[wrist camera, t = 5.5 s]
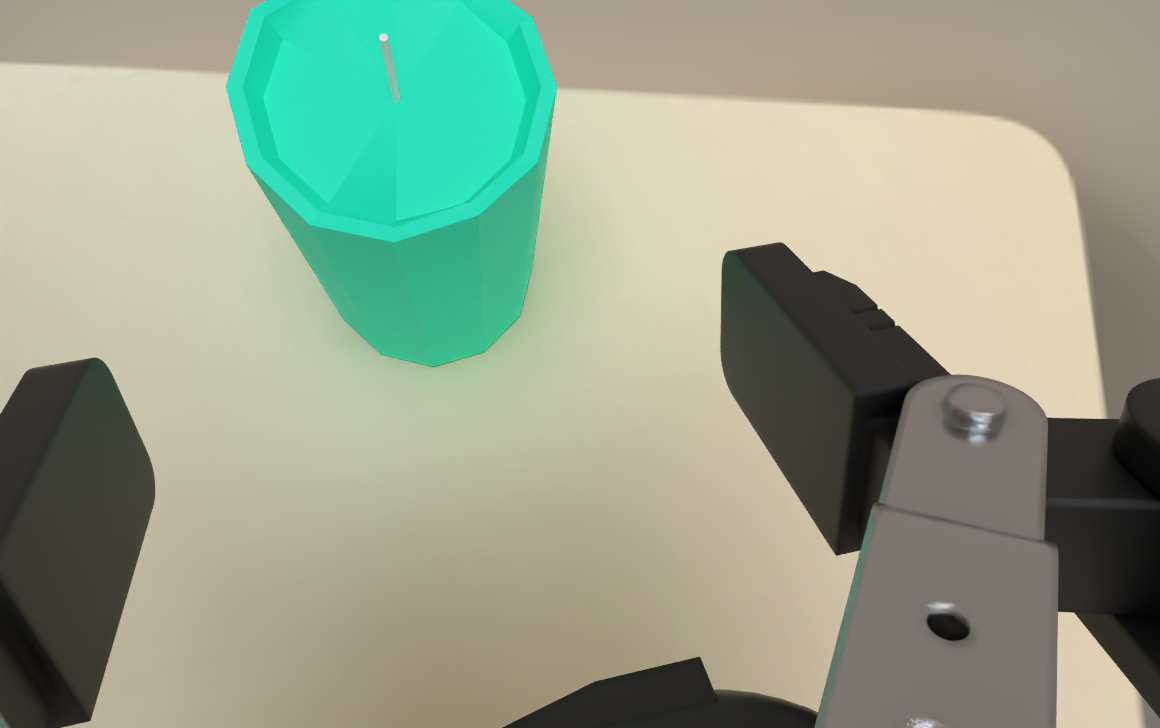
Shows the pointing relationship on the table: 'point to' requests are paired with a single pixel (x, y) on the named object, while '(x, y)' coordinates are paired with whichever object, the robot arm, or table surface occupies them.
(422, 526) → the table surface
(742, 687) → the table surface
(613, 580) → the table surface
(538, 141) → the candle
